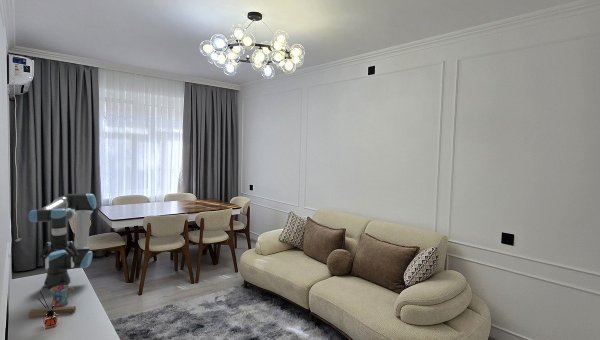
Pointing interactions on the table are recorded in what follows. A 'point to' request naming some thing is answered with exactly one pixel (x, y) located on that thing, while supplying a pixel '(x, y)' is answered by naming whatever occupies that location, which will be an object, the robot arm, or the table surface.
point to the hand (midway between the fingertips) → (59, 267)
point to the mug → (60, 295)
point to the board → (57, 310)
